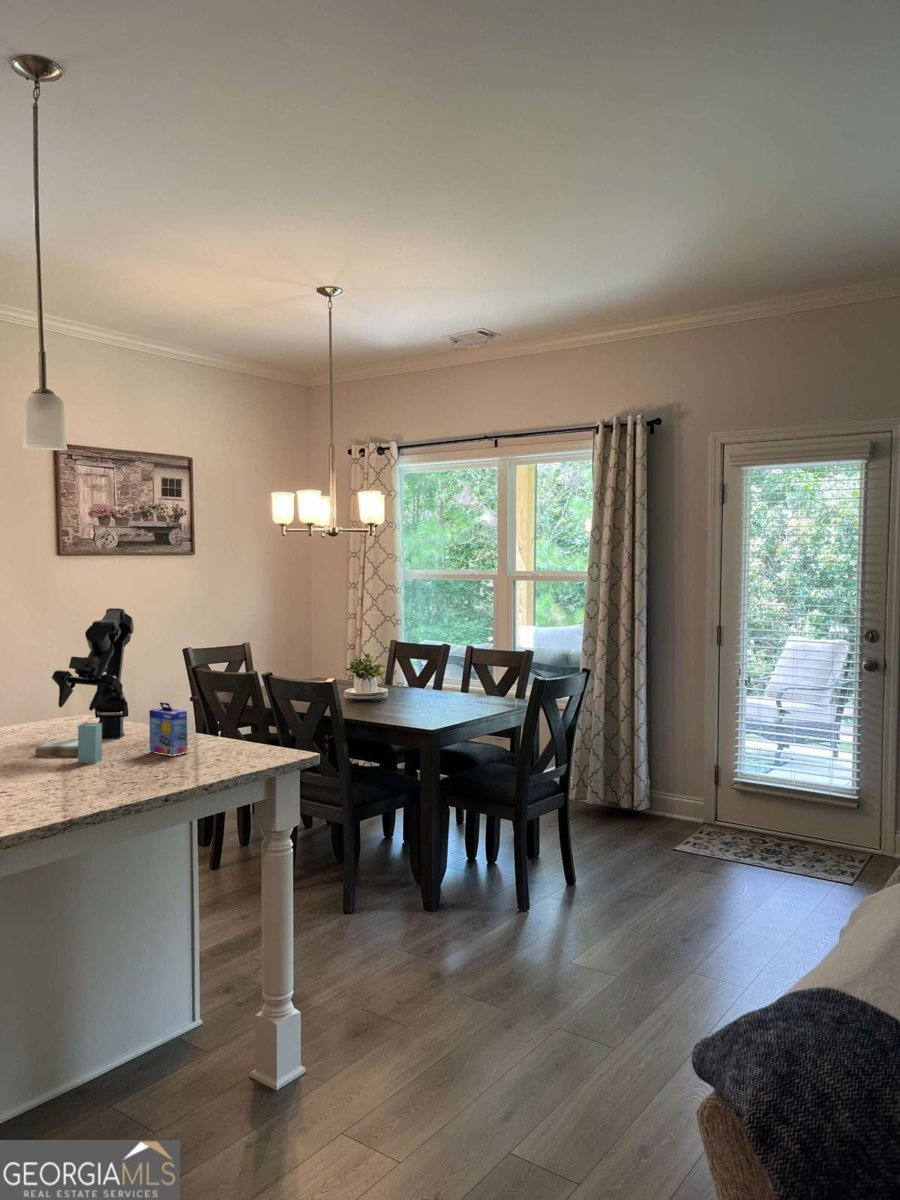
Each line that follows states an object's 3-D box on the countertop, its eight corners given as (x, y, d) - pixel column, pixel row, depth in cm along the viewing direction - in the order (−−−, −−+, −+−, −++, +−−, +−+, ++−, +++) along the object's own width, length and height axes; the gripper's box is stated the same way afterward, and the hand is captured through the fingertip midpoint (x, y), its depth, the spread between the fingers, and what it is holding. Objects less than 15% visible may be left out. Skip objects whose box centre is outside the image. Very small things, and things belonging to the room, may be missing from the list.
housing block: (84, 759, 233) (84, 722, 232) (101, 759, 233) (101, 722, 232) (78, 763, 228) (78, 725, 228) (95, 763, 228) (95, 725, 228)
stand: (95, 747, 248) (95, 738, 248) (81, 756, 236) (81, 746, 236) (51, 747, 247) (51, 738, 247) (35, 756, 235) (35, 746, 235)
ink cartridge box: (147, 753, 242) (148, 701, 242) (163, 749, 247) (164, 699, 247) (172, 757, 237) (172, 704, 237) (188, 754, 242) (188, 702, 242)
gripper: (54, 641, 241) (29, 690, 232) (116, 647, 237) (93, 696, 228) (72, 663, 250) (49, 710, 241) (132, 668, 246) (110, 717, 237)
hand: (74, 708), depth 236 cm, fingers open, 9 cm apart
